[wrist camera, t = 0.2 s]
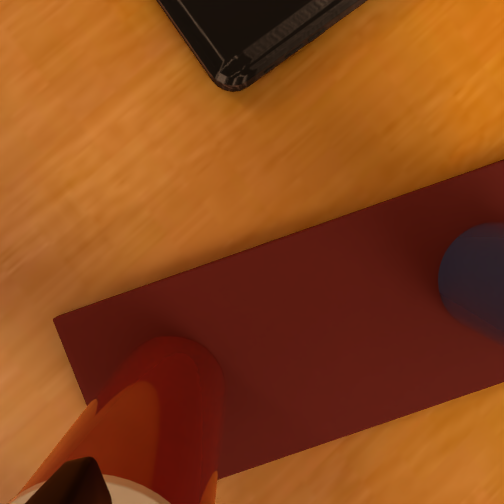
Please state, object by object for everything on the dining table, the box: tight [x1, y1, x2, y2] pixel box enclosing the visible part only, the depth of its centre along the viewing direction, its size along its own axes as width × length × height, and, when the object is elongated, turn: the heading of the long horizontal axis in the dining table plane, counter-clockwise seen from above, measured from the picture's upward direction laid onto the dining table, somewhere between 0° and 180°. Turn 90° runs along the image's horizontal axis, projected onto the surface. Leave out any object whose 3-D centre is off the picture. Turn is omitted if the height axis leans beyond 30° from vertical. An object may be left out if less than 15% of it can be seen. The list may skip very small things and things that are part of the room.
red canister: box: [7, 336, 226, 504], centre depth 17 cm, size 5×5×12 cm
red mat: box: [53, 160, 504, 480], centre depth 23 cm, size 24×10×1 cm, turn 109°
